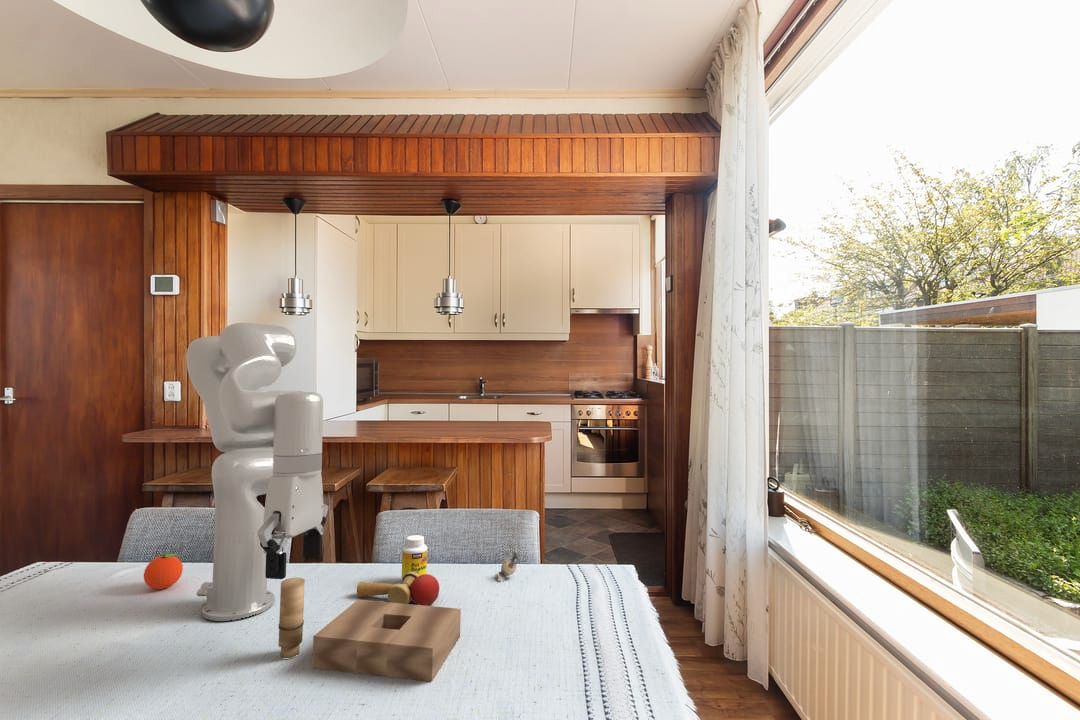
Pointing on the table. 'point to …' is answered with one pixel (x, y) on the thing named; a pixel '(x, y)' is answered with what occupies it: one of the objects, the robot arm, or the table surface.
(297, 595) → the oak peg
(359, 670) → the seat board
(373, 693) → the table surface
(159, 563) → the clementine
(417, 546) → the supplement bottle
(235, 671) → the table surface
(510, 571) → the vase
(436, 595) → the kendama
